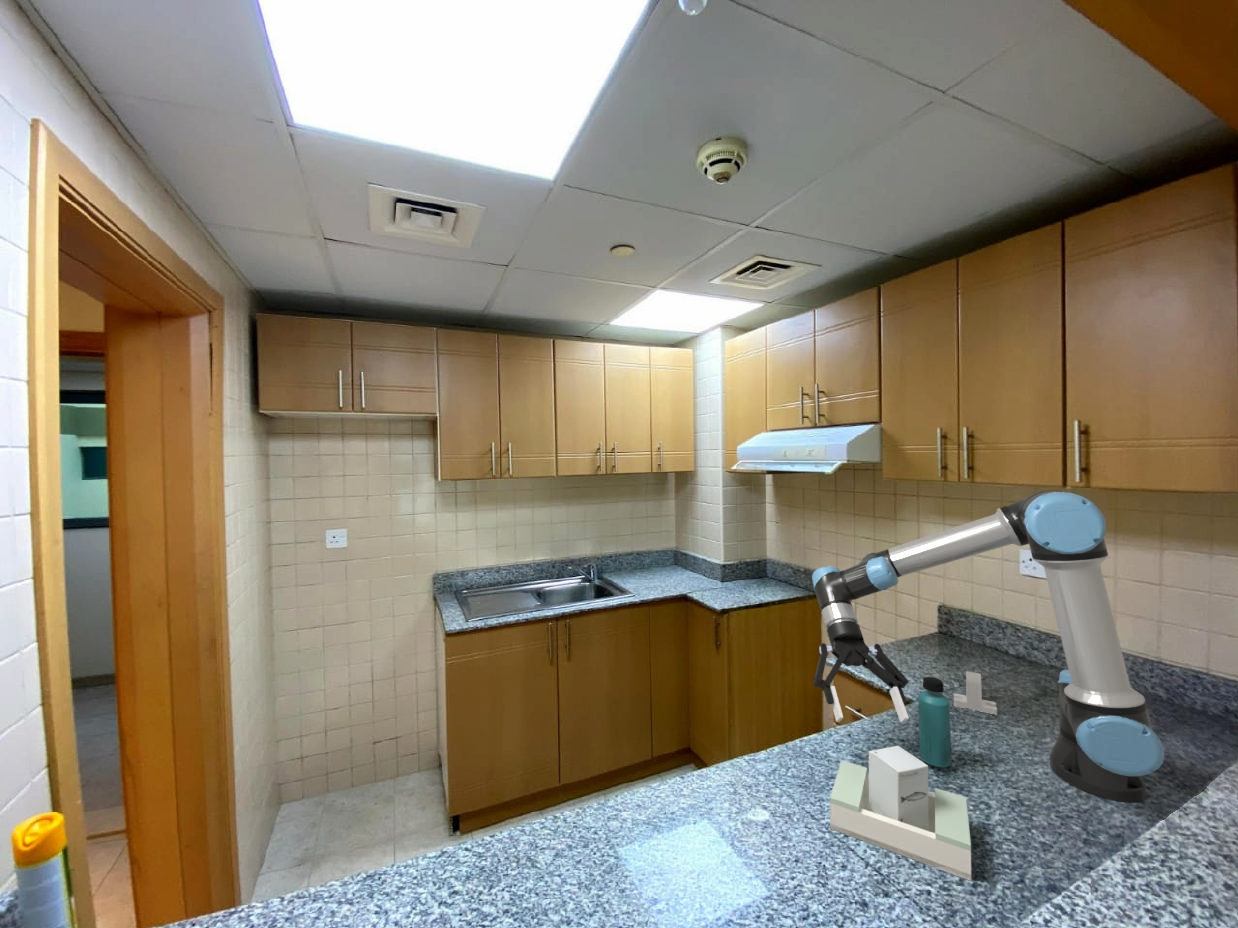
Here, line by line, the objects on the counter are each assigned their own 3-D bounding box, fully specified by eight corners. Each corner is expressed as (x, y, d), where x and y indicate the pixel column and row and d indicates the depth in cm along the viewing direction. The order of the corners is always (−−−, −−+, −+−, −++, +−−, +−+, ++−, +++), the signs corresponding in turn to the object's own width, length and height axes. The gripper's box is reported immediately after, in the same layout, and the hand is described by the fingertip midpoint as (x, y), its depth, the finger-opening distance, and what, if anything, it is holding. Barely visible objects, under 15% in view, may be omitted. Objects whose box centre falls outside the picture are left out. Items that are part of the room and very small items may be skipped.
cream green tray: (966, 828, 93) (965, 796, 93) (971, 880, 81) (970, 845, 81) (841, 787, 105) (841, 760, 105) (830, 828, 93) (830, 797, 93)
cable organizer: (953, 699, 144) (953, 665, 144) (995, 708, 139) (995, 673, 139) (953, 706, 140) (953, 672, 140) (997, 716, 134) (996, 680, 134)
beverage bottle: (957, 775, 109) (956, 686, 109) (924, 772, 110) (923, 684, 110) (943, 758, 115) (943, 674, 115) (913, 755, 117) (912, 672, 117)
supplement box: (898, 841, 89) (897, 772, 89) (867, 813, 96) (867, 749, 96) (930, 833, 91) (929, 765, 91) (898, 806, 98) (897, 743, 98)
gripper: (888, 633, 121) (925, 726, 106) (787, 633, 122) (808, 724, 107) (900, 619, 116) (939, 714, 100) (793, 618, 117) (817, 713, 102)
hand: (872, 720), depth 104 cm, fingers open, 13 cm apart
